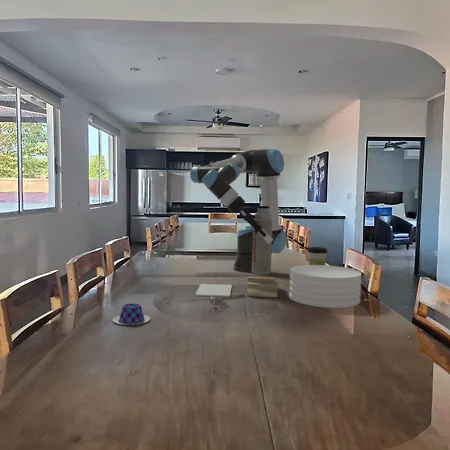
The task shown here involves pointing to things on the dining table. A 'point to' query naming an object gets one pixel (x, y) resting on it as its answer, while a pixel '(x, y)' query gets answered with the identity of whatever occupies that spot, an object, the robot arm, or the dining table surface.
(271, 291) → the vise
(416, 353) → the dining table surface
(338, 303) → the plate stack
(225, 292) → the grey mat
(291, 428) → the dining table surface
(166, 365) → the dining table surface
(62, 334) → the dining table surface
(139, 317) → the pudding
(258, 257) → the thermos bottle
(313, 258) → the coffee cup
